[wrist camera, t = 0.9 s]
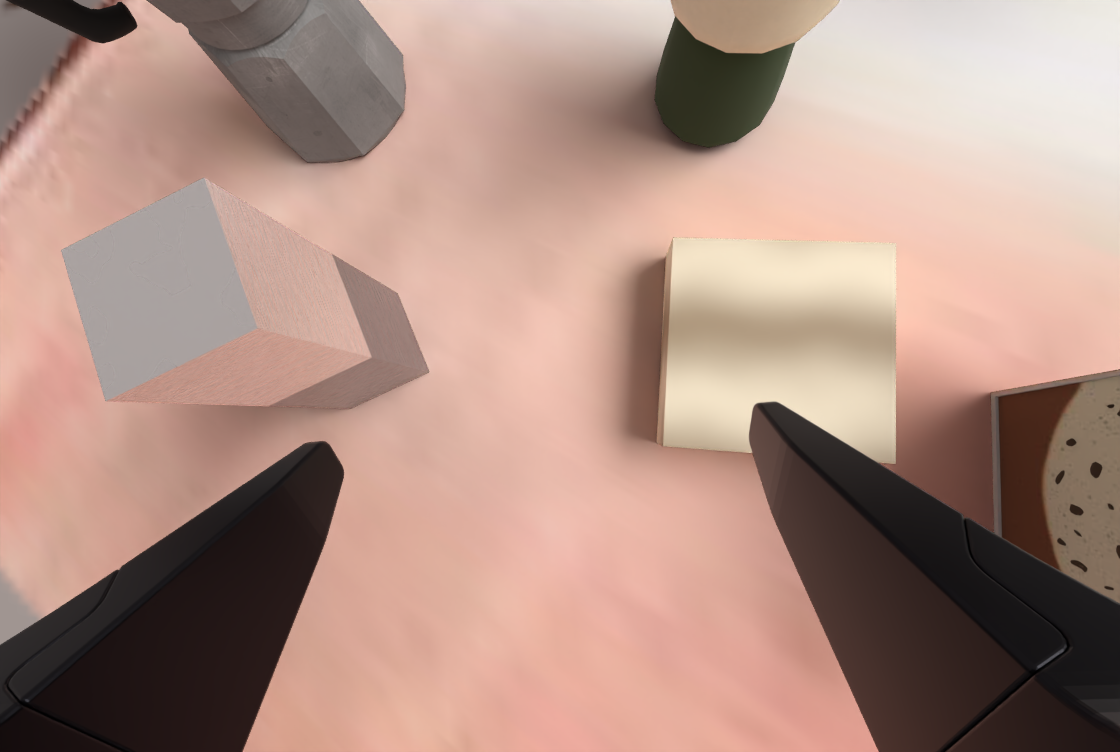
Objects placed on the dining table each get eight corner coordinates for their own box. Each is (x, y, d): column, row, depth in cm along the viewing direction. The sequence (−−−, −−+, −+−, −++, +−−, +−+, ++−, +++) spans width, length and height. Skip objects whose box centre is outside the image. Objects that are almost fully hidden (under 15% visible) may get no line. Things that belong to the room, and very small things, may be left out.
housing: (429, 372, 24) (257, 327, 12) (350, 408, 24) (105, 401, 12) (397, 293, 25) (204, 177, 13) (320, 329, 25) (60, 250, 13)
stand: (861, 458, 21) (895, 464, 19) (656, 442, 22) (663, 446, 20) (863, 262, 22) (896, 243, 20) (665, 256, 23) (673, 237, 21)
